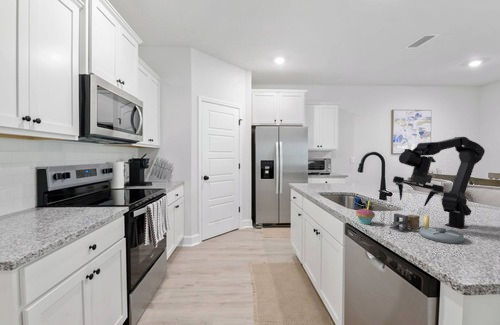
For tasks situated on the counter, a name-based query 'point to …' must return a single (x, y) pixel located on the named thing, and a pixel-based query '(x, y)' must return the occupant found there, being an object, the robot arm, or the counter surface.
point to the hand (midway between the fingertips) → (412, 203)
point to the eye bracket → (404, 223)
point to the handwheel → (440, 233)
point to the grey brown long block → (409, 221)
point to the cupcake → (365, 215)
